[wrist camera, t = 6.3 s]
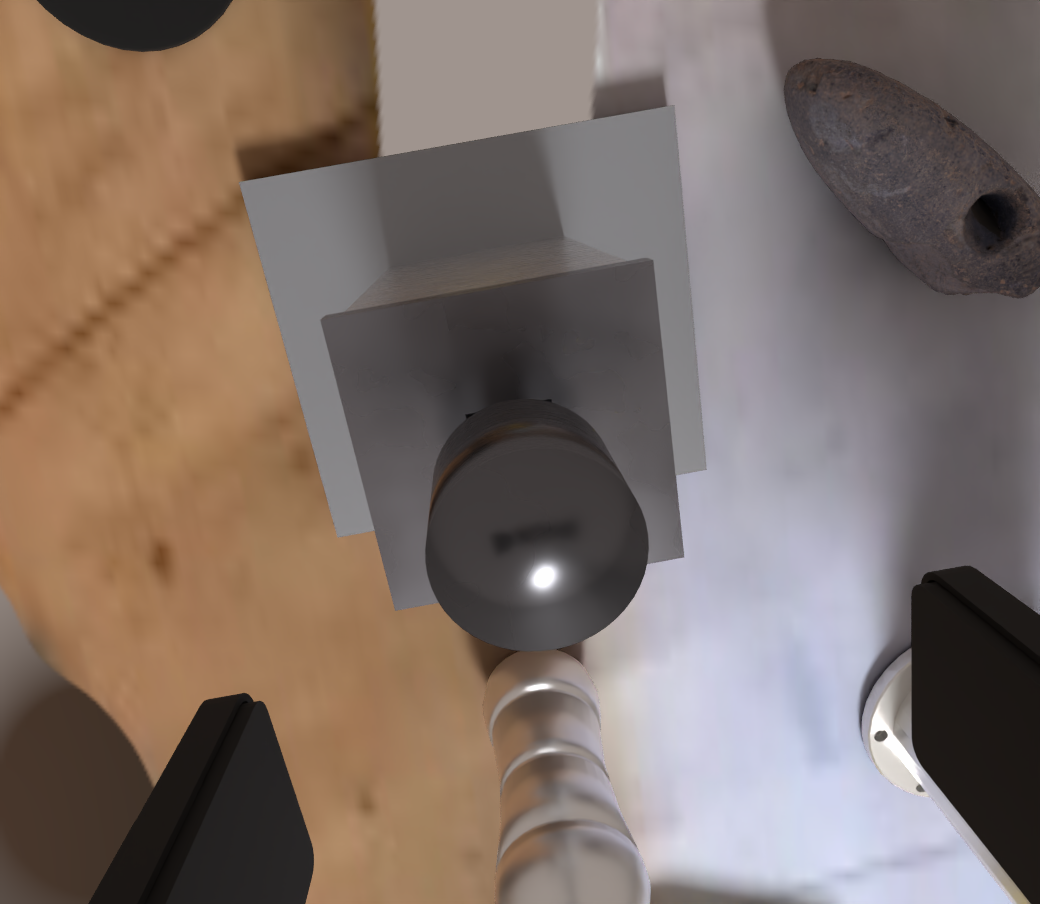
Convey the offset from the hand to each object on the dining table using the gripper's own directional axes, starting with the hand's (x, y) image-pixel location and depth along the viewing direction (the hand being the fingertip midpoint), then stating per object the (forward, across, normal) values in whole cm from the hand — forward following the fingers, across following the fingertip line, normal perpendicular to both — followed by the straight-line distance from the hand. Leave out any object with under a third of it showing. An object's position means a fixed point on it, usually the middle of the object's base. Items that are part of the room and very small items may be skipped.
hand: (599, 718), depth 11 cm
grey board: (+29, +1, -1) cm, 29 cm away
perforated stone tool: (+30, -19, -5) cm, 36 cm away
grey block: (+28, +1, 0) cm, 28 cm away
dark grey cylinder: (+24, +1, -1) cm, 24 cm away
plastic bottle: (+30, +2, +20) cm, 36 cm away
